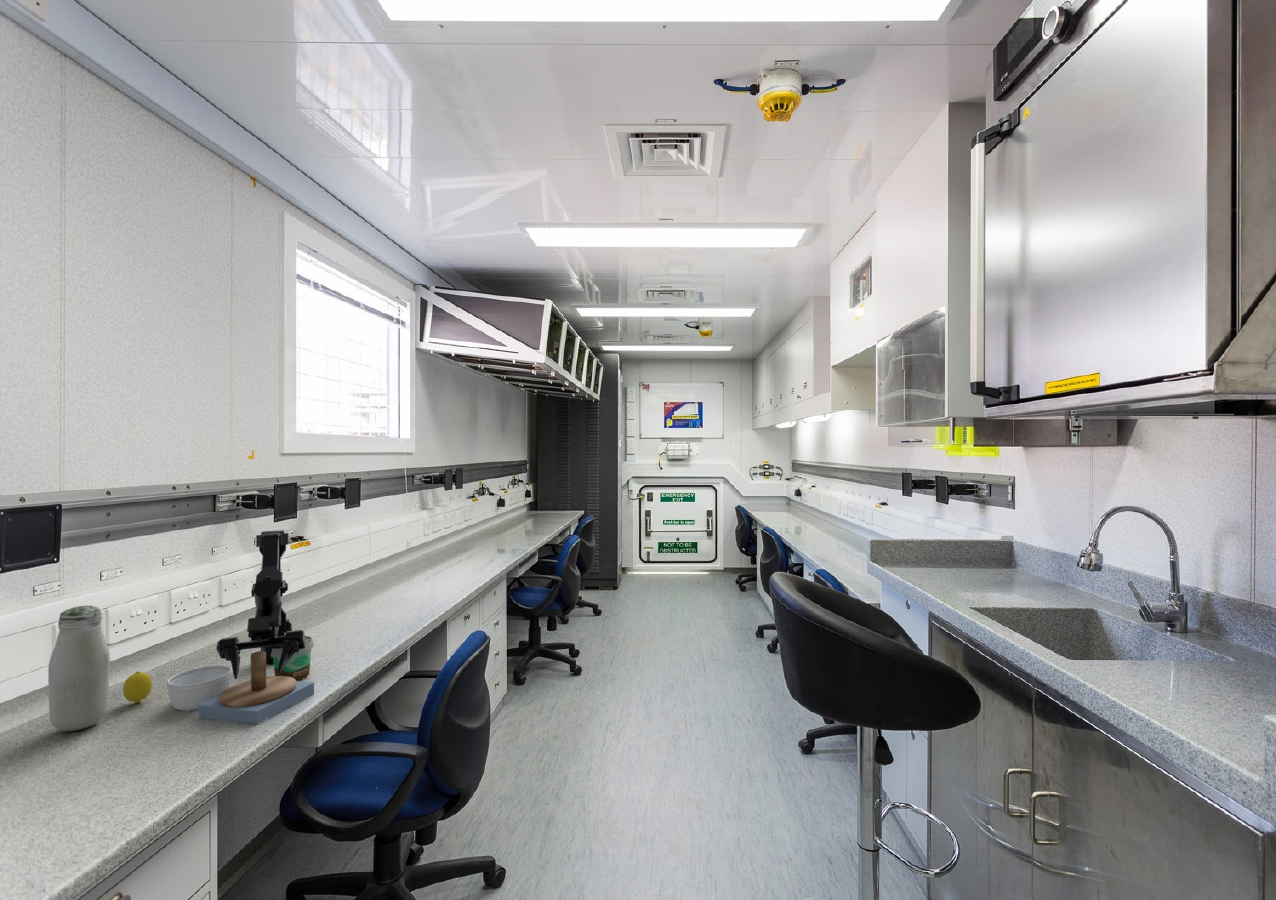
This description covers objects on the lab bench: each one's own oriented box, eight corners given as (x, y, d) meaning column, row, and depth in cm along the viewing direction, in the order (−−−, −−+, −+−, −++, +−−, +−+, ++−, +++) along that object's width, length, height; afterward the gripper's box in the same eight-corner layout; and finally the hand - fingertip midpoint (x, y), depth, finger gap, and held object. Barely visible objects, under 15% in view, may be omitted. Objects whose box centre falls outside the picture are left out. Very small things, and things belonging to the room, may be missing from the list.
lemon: (157, 699, 147) (157, 668, 147) (132, 709, 142) (132, 676, 142) (143, 697, 149) (142, 666, 149) (117, 706, 144) (117, 674, 144)
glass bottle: (43, 742, 125) (41, 615, 126) (58, 724, 134) (57, 605, 134) (103, 730, 131) (102, 608, 131) (114, 713, 139) (113, 598, 139)
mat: (198, 717, 137) (198, 705, 137) (260, 688, 153) (260, 677, 153) (257, 724, 133) (257, 711, 133) (314, 693, 149) (314, 682, 149)
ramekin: (205, 713, 139) (205, 684, 139) (152, 713, 139) (152, 685, 139) (244, 690, 152) (244, 664, 152) (195, 690, 153) (195, 664, 153)
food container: (290, 688, 154) (290, 650, 154) (271, 686, 155) (270, 649, 155) (324, 670, 166) (324, 636, 166) (306, 669, 167) (305, 634, 167)
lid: (202, 704, 137) (201, 662, 137) (260, 678, 153) (259, 640, 153) (257, 710, 133) (256, 667, 133) (310, 683, 149) (310, 644, 149)
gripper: (218, 607, 143) (204, 665, 133) (303, 598, 150) (296, 654, 140) (227, 629, 151) (215, 687, 140) (308, 620, 158) (302, 675, 147)
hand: (257, 675), depth 142 cm, fingers open, 9 cm apart
